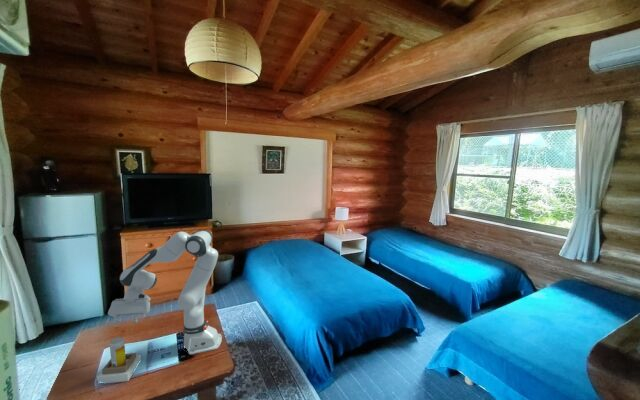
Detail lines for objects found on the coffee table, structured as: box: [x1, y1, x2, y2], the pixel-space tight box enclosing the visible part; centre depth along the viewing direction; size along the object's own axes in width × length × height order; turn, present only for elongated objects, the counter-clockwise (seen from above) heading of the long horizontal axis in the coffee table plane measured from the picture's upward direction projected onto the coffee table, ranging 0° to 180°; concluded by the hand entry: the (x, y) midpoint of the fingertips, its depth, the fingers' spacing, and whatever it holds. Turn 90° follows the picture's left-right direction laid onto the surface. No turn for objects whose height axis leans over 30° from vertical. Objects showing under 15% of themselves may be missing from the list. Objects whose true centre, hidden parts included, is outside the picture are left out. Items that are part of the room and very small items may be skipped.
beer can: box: [109, 336, 126, 367], centre depth 144 cm, size 6×6×15 cm
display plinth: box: [96, 352, 142, 384], centre depth 145 cm, size 14×14×6 cm
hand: (125, 323), depth 150 cm, fingers open, 8 cm apart
